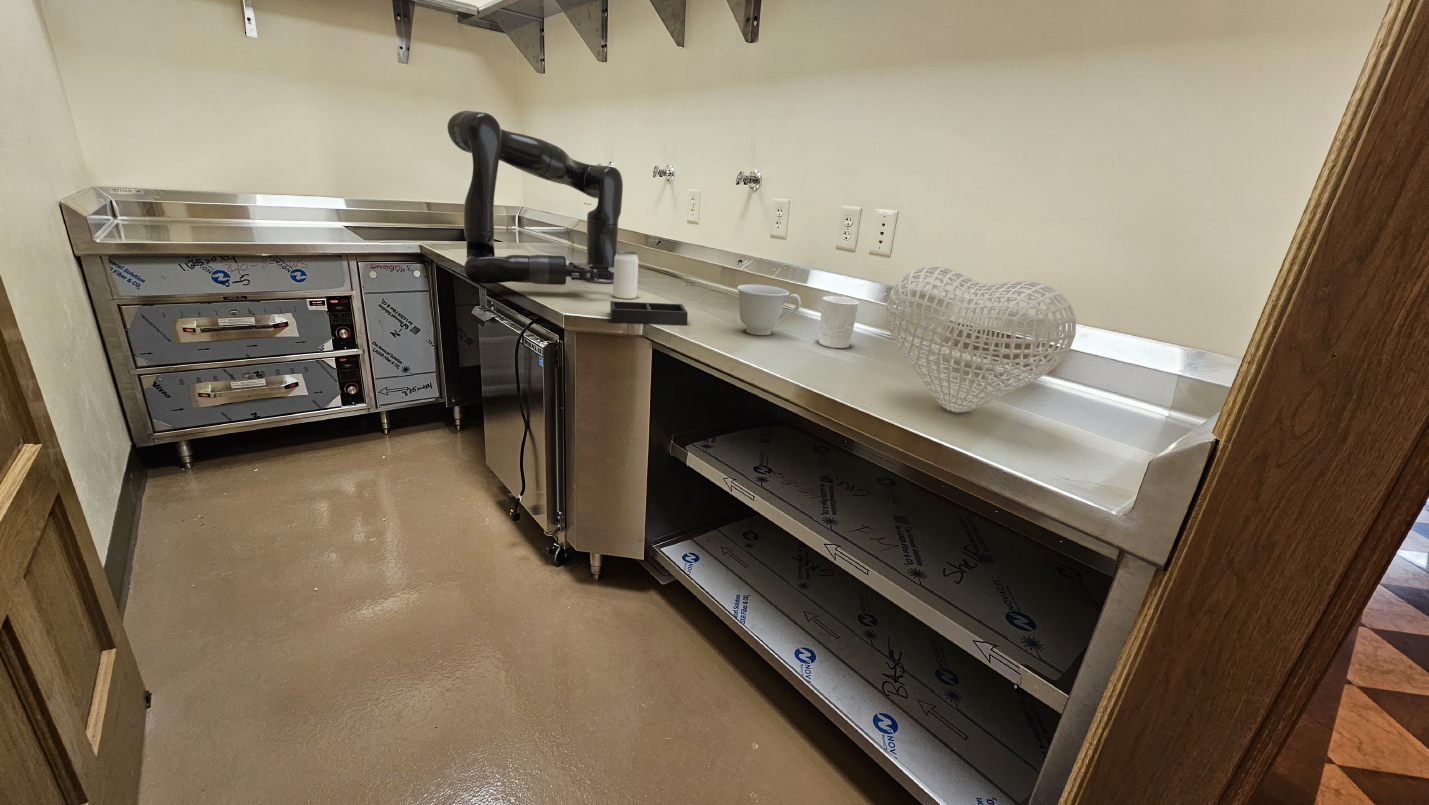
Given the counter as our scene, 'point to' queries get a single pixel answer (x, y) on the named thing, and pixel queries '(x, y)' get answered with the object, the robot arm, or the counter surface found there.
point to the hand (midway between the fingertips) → (609, 272)
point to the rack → (648, 313)
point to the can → (625, 275)
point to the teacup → (763, 307)
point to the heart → (992, 289)
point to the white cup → (837, 321)
